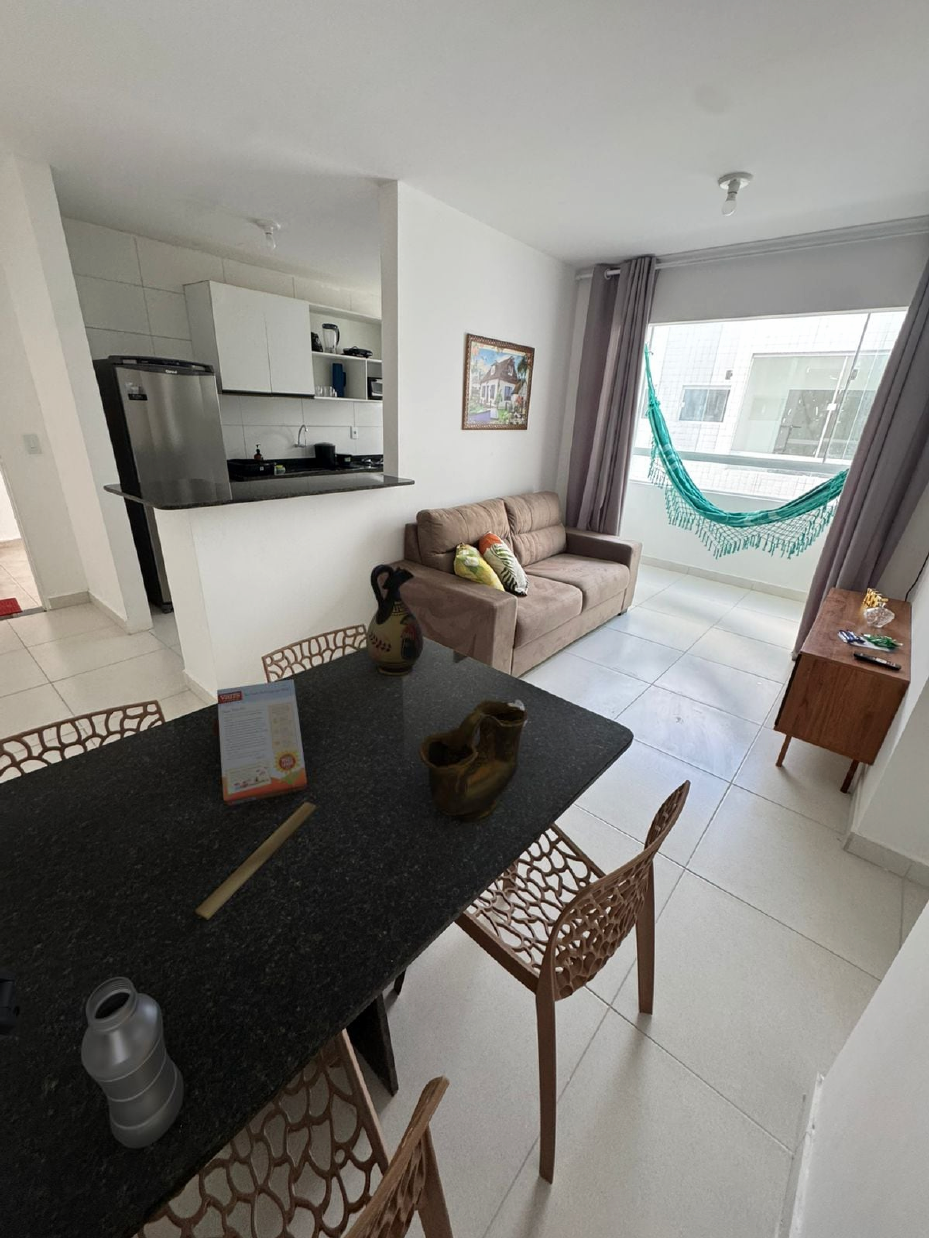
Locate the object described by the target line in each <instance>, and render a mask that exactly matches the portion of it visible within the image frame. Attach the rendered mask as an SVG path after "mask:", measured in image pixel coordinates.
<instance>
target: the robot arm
mask: <svg viewBox="0 0 929 1238" xmlns="http://www.w3.org/2000/svg"><path fill="white" fill-rule="evenodd" d="M17 975H18V973H17V972H14V971H9V970H4V969H0V1041H2V1040H5V1039H7V1038H11V1037H13V1036H14V1035H15V1034H16V1033H17V1031H18V1028H19V1027H20V1025H21V1021H22V1015H23V1011H24V1005H25V1001H24V999H21V998H19V997H15V996H14V997H13V993H14V989H15V985H16V980H17Z"/></svg>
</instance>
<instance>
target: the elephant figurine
mask: <svg viewBox="0 0 929 1238" xmlns="http://www.w3.org/2000/svg"><path fill="white" fill-rule="evenodd" d="M507 703H508V705H509V706H515V707H520V709H521V710H524V711H526V709H525V705H524V703H523V702H522V700H520V699H515V700H514V702H507ZM527 723H528V719H527V720H526V721H525V722H524V724H523V727H522V728H524V727H526V725H527Z"/></svg>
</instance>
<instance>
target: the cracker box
mask: <svg viewBox="0 0 929 1238" xmlns="http://www.w3.org/2000/svg"><path fill="white" fill-rule="evenodd" d="M295 689H296V688H295V680H294V679H287V680H278V681H272V682H271V681H270V682H264V683H258V684H249V685H243V686H236V687H228V688H221V689H217V691H216V695H217V696H216V697H217V711H218V713H217V714H218V715H217V716H219V733H220V745H219V750H220V767H221V780H222V796H223V801H224V803H225V804H226V805H227V807H230V806H234V805H239V804H243V803H248V802H253V801H257V800H262V799H267V798H271V797H275V796H280V795H285V794H289V793H294V792H298V791H303V790H306V789H307V785H308V781H307V775H306V774H307V773H306V765H305V757H304V750H303V741H302V734H301V727H300V719H299V710H298V703H297V696H296V690H295Z"/></svg>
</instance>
